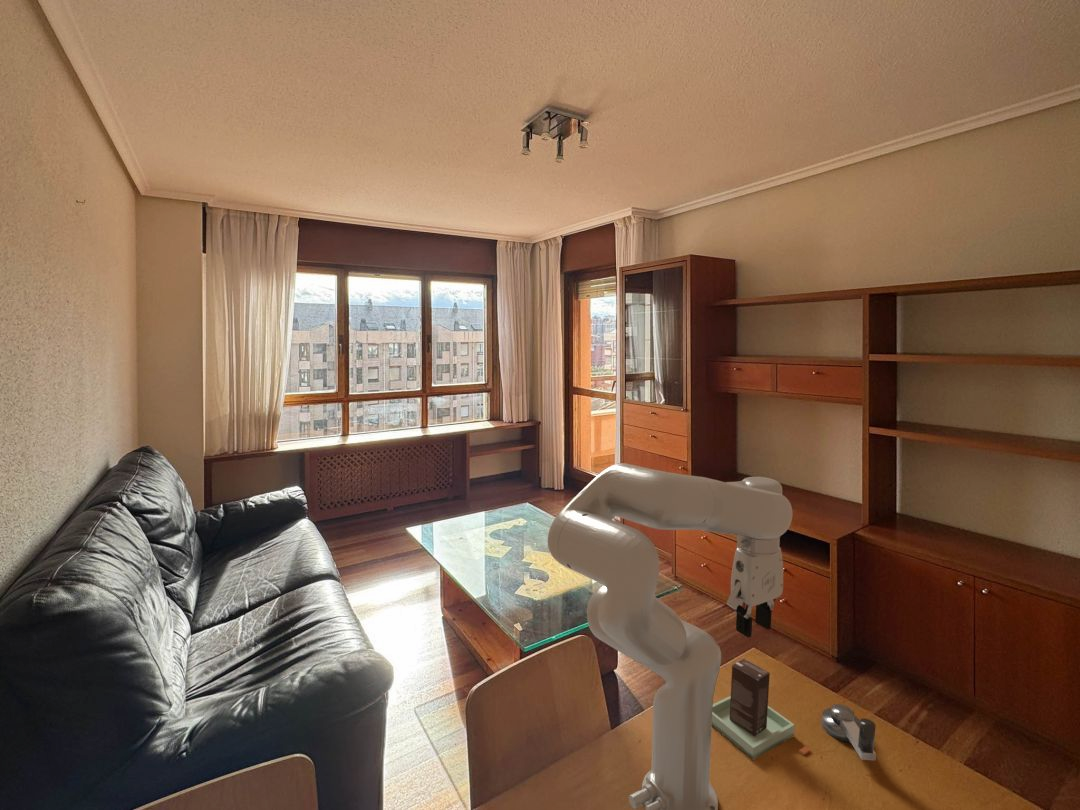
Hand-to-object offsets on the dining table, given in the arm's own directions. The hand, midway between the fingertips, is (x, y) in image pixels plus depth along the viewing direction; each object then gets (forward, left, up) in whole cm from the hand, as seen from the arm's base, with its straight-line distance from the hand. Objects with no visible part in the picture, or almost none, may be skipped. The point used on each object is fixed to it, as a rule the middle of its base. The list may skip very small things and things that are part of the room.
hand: (753, 628), depth 103 cm
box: (0, 0, -21) cm, 21 cm away
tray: (0, 0, -21) cm, 21 cm away
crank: (+14, -13, -19) cm, 27 cm away
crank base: (+11, -9, -21) cm, 26 cm away
